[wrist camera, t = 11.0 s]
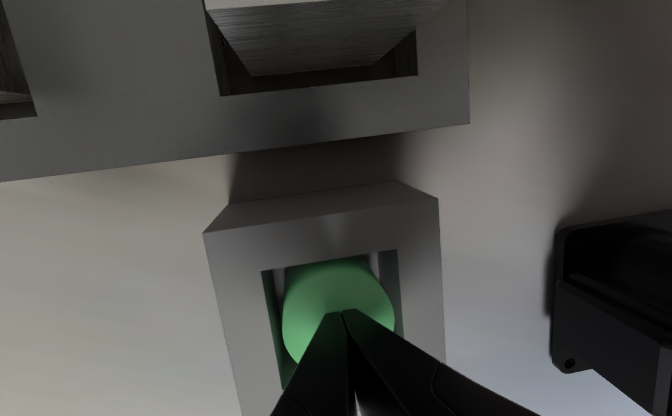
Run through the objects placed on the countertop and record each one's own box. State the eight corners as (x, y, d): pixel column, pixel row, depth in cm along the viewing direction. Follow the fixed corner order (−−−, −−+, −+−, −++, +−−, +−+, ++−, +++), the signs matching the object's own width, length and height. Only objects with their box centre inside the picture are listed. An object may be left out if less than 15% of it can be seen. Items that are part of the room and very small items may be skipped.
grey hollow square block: (396, 180, 12) (438, 198, 9) (408, 327, 13) (447, 392, 10) (228, 204, 11) (202, 233, 8) (257, 355, 13) (246, 434, 9)
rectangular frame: (427, -167, 10) (460, -241, 8) (440, 125, 12) (469, 123, 10) (-308, -146, 8) (-499, -235, 6) (-149, 198, 10) (-255, 214, 8)
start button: (368, 236, 11) (390, 264, 9) (376, 317, 12) (398, 364, 9) (277, 250, 11) (273, 284, 8) (291, 332, 11) (291, 386, 9)
